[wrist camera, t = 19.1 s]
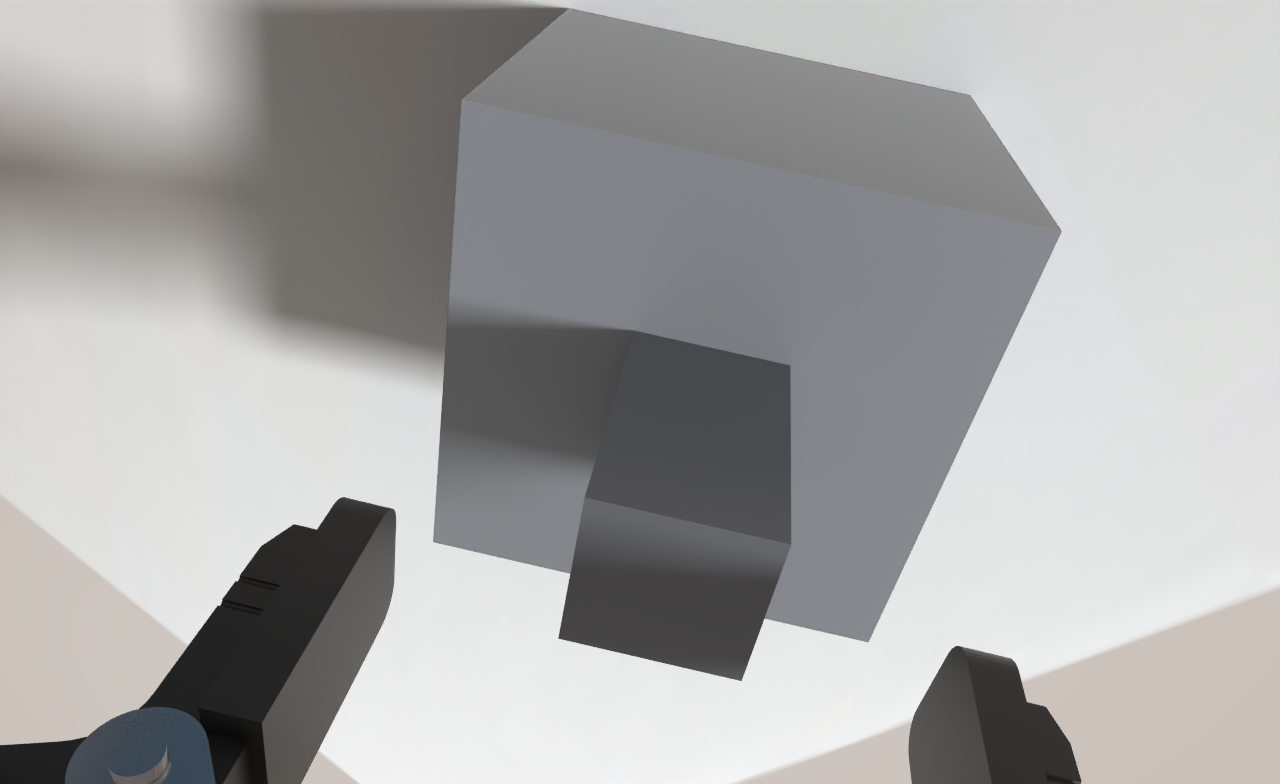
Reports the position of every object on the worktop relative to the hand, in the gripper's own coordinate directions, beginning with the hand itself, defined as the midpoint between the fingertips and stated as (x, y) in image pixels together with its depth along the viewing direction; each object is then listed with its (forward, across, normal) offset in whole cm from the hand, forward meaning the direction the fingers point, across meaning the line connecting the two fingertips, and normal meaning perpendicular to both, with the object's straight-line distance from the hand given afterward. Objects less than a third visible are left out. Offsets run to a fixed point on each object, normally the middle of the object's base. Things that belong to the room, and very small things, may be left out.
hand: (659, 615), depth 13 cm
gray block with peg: (+14, 0, 0) cm, 15 cm away
